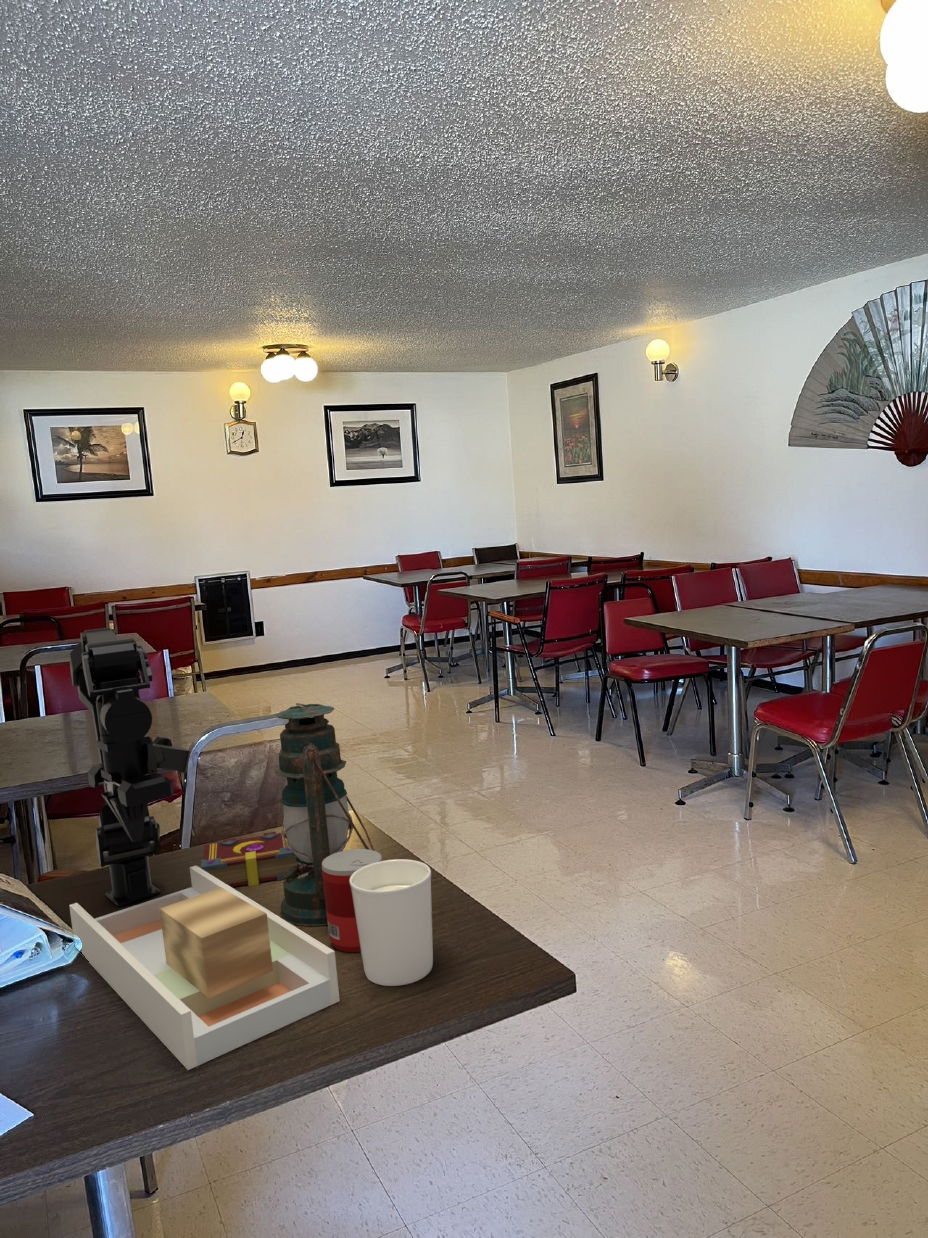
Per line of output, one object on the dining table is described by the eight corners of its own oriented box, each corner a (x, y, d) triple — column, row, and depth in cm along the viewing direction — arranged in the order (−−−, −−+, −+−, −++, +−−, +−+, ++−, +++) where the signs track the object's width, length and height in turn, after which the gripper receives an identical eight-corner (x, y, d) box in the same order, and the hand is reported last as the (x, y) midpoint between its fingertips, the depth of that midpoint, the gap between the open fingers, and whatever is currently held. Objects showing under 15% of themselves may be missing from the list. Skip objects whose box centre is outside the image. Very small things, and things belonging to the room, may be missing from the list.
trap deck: (74, 947, 123) (69, 905, 122) (200, 904, 134) (196, 865, 133) (187, 1070, 92) (181, 1014, 91) (339, 1001, 103) (334, 951, 102)
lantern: (279, 888, 138) (259, 696, 134) (372, 873, 140) (354, 685, 137) (281, 944, 119) (257, 721, 115) (388, 925, 121) (368, 708, 118)
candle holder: (450, 953, 112) (442, 861, 111) (421, 994, 103) (412, 893, 102) (379, 947, 115) (370, 857, 114) (344, 986, 106) (334, 888, 105)
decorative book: (206, 869, 149) (202, 840, 148) (304, 853, 153) (301, 825, 152) (204, 895, 138) (200, 864, 137) (309, 877, 142) (306, 847, 141)
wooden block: (166, 963, 109) (159, 908, 108) (227, 940, 114) (221, 887, 113) (208, 998, 100) (201, 938, 99) (272, 971, 105) (266, 913, 104)
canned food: (380, 954, 113) (372, 870, 112) (320, 953, 115) (312, 870, 114) (396, 927, 121) (389, 848, 120) (340, 926, 122) (332, 848, 121)
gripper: (204, 726, 121) (218, 839, 122) (157, 713, 135) (170, 814, 137) (119, 744, 114) (135, 863, 115) (80, 728, 129) (94, 833, 130)
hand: (136, 841), depth 125 cm, fingers closed
